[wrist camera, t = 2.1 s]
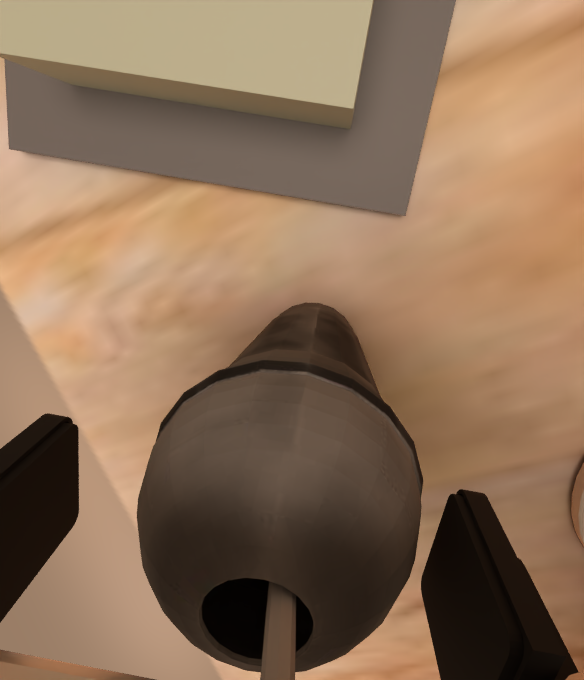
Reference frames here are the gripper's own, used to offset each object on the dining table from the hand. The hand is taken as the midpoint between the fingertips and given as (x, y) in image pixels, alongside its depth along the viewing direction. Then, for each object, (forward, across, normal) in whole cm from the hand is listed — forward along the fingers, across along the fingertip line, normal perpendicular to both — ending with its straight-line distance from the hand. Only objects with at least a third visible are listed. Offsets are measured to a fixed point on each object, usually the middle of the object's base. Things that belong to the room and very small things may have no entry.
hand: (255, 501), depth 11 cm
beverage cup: (+12, -1, 0) cm, 13 cm away
